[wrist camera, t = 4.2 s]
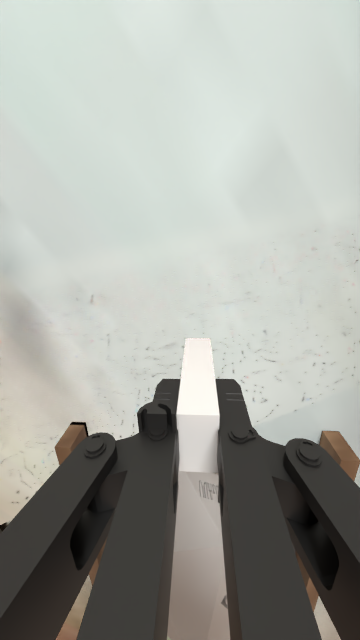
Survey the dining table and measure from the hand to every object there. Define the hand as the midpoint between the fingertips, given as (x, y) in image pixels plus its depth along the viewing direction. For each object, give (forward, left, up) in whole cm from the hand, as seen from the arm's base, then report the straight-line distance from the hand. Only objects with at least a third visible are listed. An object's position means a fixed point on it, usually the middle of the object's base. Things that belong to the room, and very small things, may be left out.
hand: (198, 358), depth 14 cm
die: (0, -12, -2) cm, 12 cm away
